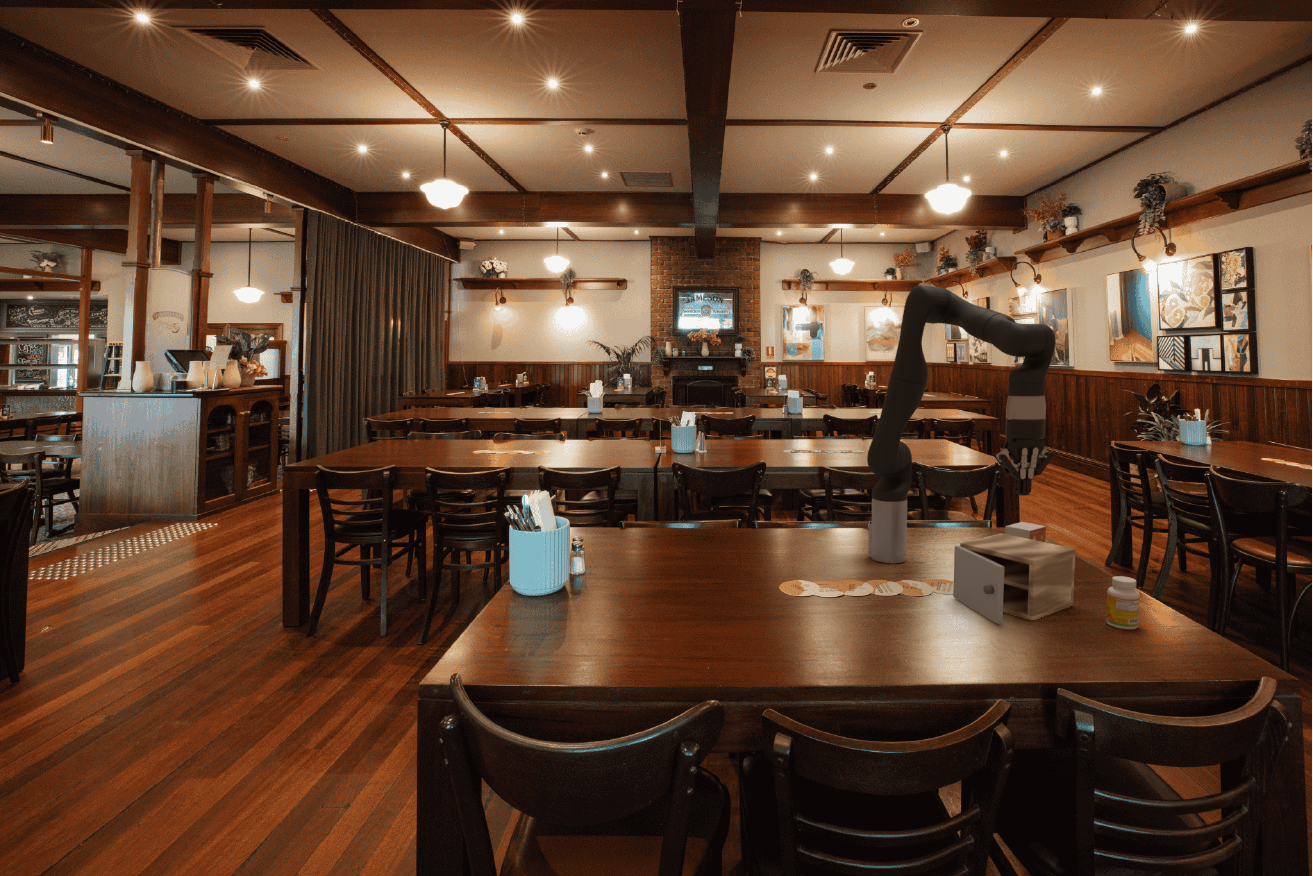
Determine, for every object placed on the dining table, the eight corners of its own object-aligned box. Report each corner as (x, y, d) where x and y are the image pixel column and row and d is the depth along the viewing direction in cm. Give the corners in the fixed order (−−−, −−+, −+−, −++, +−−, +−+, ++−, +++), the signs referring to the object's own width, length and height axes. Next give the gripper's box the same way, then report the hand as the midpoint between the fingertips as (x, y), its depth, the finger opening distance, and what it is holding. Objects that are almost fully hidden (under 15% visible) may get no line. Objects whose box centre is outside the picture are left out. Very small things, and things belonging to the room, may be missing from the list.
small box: (1028, 582, 162) (1030, 530, 161) (1002, 575, 167) (1004, 525, 166) (1044, 576, 166) (1046, 525, 165) (1019, 570, 172) (1021, 521, 170)
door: (948, 596, 151) (949, 546, 150) (958, 596, 151) (959, 545, 150) (991, 623, 135) (993, 567, 134) (1002, 623, 135) (1004, 566, 134)
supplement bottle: (1105, 618, 138) (1108, 573, 137) (1137, 623, 135) (1140, 577, 134) (1105, 626, 134) (1108, 580, 133) (1138, 632, 131) (1141, 584, 130)
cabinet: (958, 598, 152) (960, 543, 150) (999, 585, 160) (1001, 533, 159) (1032, 621, 137) (1034, 560, 136) (1072, 606, 145) (1075, 548, 144)
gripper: (1042, 414, 147) (1039, 490, 149) (986, 416, 146) (984, 493, 147) (1066, 416, 139) (1062, 497, 141) (1007, 418, 138) (1005, 499, 140)
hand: (1022, 494), depth 144 cm, fingers closed
